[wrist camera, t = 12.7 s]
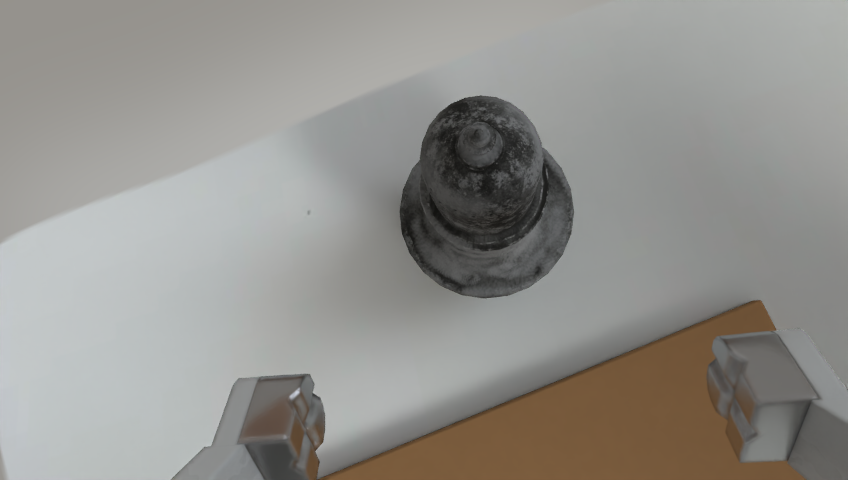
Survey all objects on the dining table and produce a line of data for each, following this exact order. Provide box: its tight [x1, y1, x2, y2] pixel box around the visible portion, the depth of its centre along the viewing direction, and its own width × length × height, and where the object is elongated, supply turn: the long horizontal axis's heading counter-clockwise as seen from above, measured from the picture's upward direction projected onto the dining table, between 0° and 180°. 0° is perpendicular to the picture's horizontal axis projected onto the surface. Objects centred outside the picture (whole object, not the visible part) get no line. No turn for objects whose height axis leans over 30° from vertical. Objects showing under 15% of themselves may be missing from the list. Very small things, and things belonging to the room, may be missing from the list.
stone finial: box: [400, 96, 574, 298], centre depth 17 cm, size 6×6×12 cm
